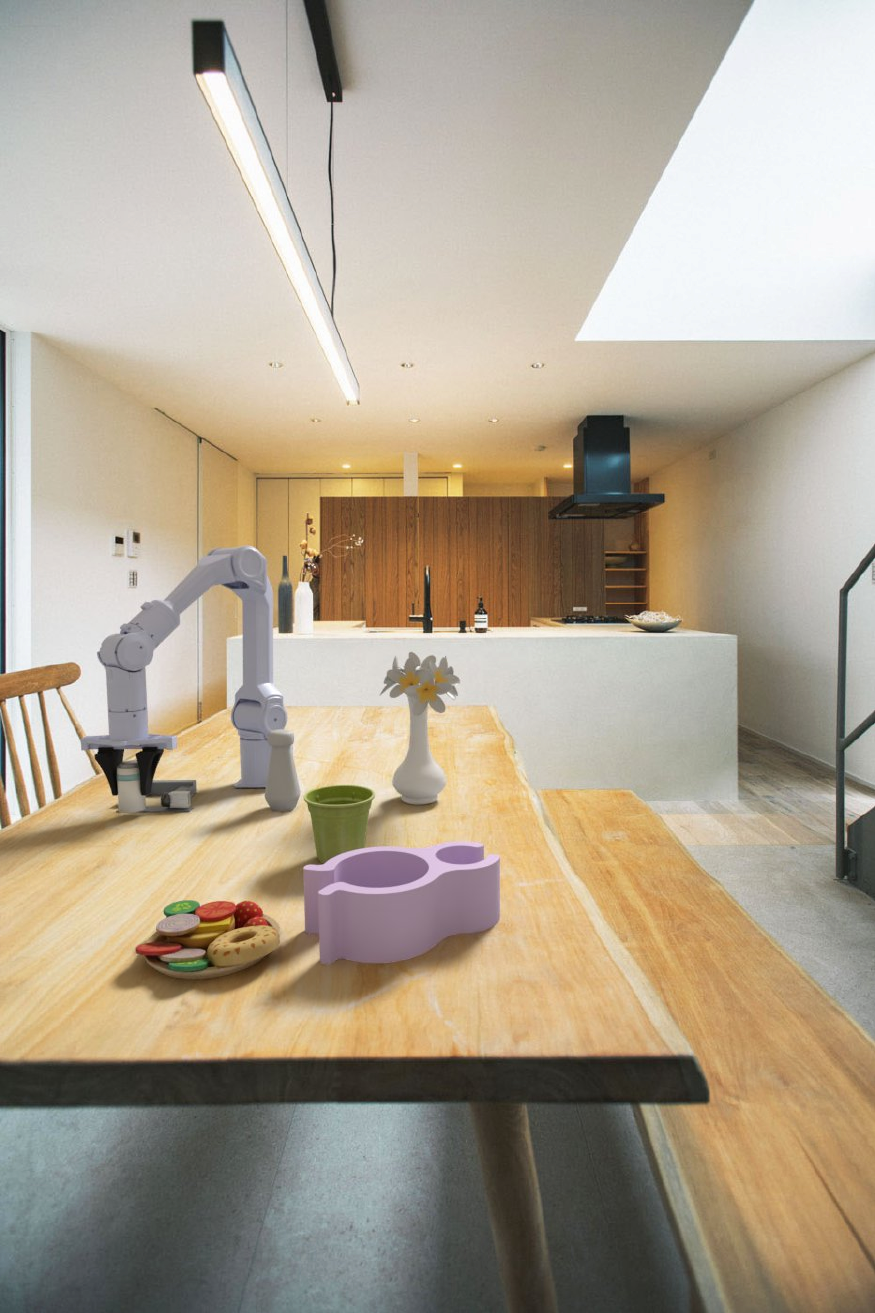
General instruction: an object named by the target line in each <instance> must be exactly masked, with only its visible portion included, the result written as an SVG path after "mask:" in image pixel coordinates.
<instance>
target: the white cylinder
mask: <svg viewBox="0 0 875 1313" xmlns="http://www.w3.org/2000/svg"><path fill="white" fill-rule="evenodd" d="M117 784H118V795H117V800H118V803H117V804H118V810H119V812H118V813H122V814H133V813H141V812H140V811H143V810H145V809H146V806H147V800H146V799H147V798H146V797H147V796H146V795H142V796H141V791H140V773H139V767H138V763H137V759H134V760H133V759H132V760H125V761H124V760H123V762H121V763H119V766H118V767H117Z"/></svg>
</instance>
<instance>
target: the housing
mask: <svg viewBox="0 0 875 1313" xmlns="http://www.w3.org/2000/svg"><path fill="white" fill-rule="evenodd" d="M172 791H190V796H191V797H192V796H194V795H195V794H196V793H197V792H196V791H197V780H196V779H168V780H167V779H165V780H164V779H162V780H161V779H160V780H159V779H157V780H156V779H155V780H154V779H153V782H152V788H151V792H150V793H149V794H147V795H146V797H148V796H149V795H151V796H152V795H159V796H160V795H161V796H162V794H163V792H172ZM195 792H196V793H195ZM194 793H195V794H194ZM193 807H194V808H195V807H196V806H194V805H191V806H190V807H188V808H170V807H162V805H161V806H159V805H156V806H152V805H151V806H147V805H146V809H145V810H143V811H140V812H139V813H189V812H191V811H192V810H193V809H194V808H193ZM190 810H191V811H190ZM115 812H116V813H120V812H119V809H116V811H115Z"/></svg>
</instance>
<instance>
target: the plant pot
mask: <svg viewBox="0 0 875 1313" xmlns="http://www.w3.org/2000/svg"><path fill="white" fill-rule="evenodd" d="M375 796H376V792H375V790H373V789H372V788H369V787H367V786H362V785H357V784H356V785H355V784H335V785H334V784H333V785H332V784H331V785H325V786H320V787H317V788H316V787H315V788H313V789H310V790H308V791H307V792H305V793H304V795H303V801H304V802H305V803H306V806H307V810H308V812H309V814H310V820H311V825H312V826H311V827H312V833H313V840H314V846H315V852H316V858H317V859H318V860H319V862H320V863H321V864H325V863H326V862H327V861H328V860H330V859H331V858H333V857H335V856H337V855H340V854H342V853H345V852H349V851H352V850H357V849H362V848H366V847H365V845H366V836H367V830H368V822H369V814H370V809H371V808H372V803H373V800H374V799H375V798H376V797H375Z"/></svg>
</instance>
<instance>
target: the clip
mask: <svg viewBox="0 0 875 1313" xmlns="http://www.w3.org/2000/svg"><path fill="white" fill-rule="evenodd" d="M500 861H501V855H500V854H497V853H492V854H490V853H489V854H487V855H486V857H485V844H484V843H481V842H477V841H476V842H475V841H469V840H468V841H467V840H453V841H446V842H445V841H444V842H441V843H437V844H434V845H433V844H432V845H431V846H427V847H405V846H394V845H393V846H389V845H388V846H387V845H386V846H383V845H382V846H370V847H364V848H362V849H357V850H352V851H349V852H345V853H342V854H340V855H337V856H335V857H333V858H331V859H330V860H328V861H327V862H326V863H325V864H324V863H322V864H307V865H305V866H303V868H302V870H303V871H302V872H303V874H302V875H303V906H304V910H303V911H304V932H305V934H312V935H318V938H319V939H318V942H319V945H318V946H319V947H318V948H319V949H318V950H319V962H320V963H321V964H323V965H331V964H333V963H335V962H336V961H337V960H339V959H345V960H348V961H352V962H358V963H363V964H386V963H387V964H388V963H396V962H402V961H406V960H410V959H413V958H415V957H418V956H421V955H423V954H425V953H427V952H429V951H430V950H432V949H433V948H435V946H437V945H438V944H439V943H440V942H441V941H442V940H444V939H445V938H447V937H449V936H454V935H461V934H462V935H464V934H466V935H467V934H474V933H480V932H483V931H484V932H485V931H486V930H489V929H491V928H493V927H494V926H496V925H497V924H498V923H499V922H500V918H501V862H500Z"/></svg>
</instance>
